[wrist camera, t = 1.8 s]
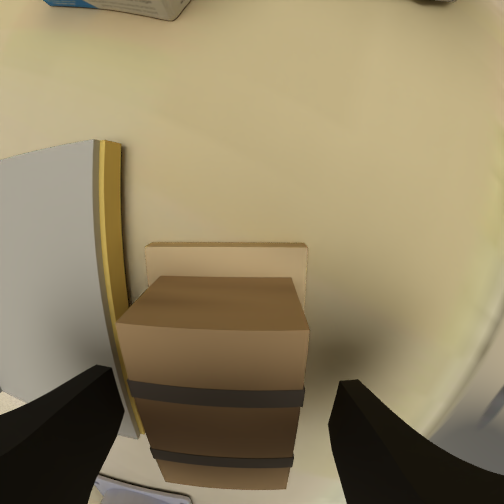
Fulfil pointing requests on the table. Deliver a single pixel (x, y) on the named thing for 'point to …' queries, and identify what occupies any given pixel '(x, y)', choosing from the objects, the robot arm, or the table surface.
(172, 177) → the table surface
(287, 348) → the cardboard box
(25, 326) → the dock
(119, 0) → the ink box
